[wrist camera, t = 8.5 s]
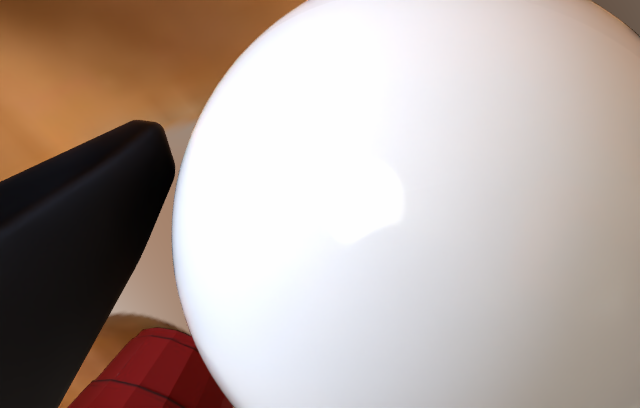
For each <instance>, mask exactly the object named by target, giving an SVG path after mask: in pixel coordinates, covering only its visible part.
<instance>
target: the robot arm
mask: <svg viewBox="0 0 640 408" xmlns="http://www.w3.org/2000/svg"><path fill="white" fill-rule="evenodd" d="M174 176H175V163H174V160H173V156H172V153H171V150H170V147H169V144H168V141H167V137H166V134H165V131H164V129H163V127H162V126H161V125H160V124H158V123H156V122H151V121H143V120H133V121H130V122H128V123H126V124H124V125H122V126H119V127H117V128H115V129H113V130H111V131H109V132H107V133H104V134H102V135H100V136H98V137H96V138H94V139H91V140H89V141H87V142H85V143H83V144H81V145H79V146H76V147H74V148H72V149H70V150H68V151H66V152H64V153H61V154H59V155H57V156H55V157H53V158H51V159H48V160H46V161H44V162H42V163H40V164H38V165H36V166H33V167H31V168H29V169H27V170H25V171H23V172H21V173H18V174H16V175H14V176H12V177H10V178H8V179H5V180H3V181H1V182H0V408H58V407H59V405H60V403H61V401H62V399H63V398H64V396H65V394H66V392H67V390H68V389H69V387H70V385H71V383H72V381H73V380H74V378H75V376H76V374H77V372H78V370H79V369H80V367H81V365H82V363H83V361H84V360H85V358H86V356H87V354H88V352H89V351H90V349H91V347H92V345H93V343H94V342H95V340H96V338H97V336H98V334H99V333H100V331H101V329H102V327H103V325H104V324H105V322H106V320H107V318H108V316H109V315H110V313H111V311H112V309H113V307H114V305H115V304H116V302H117V300H118V298H119V296H120V295H121V293H122V291H123V289H124V287H125V286H126V284H127V282H128V280H129V278H130V276H131V275H132V273H133V271H134V269H135V267H136V265H137V263H138V261H139V260H140V258H141V255H142V253H143V251H144V249H145V247H146V244H147V242H148V240H149V237H150V235H151V232H152V230H153V228H154V225H155V223H156V221H157V218H158V216H159V213H160V211H161V208H162V206H163V204H164V201H165V199H166V197H167V194H168V192H169V189H170V187H171V184H172V182H173V179H174Z"/></svg>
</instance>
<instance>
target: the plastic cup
mask: <svg viewBox="0 0 640 408" xmlns="http://www.w3.org/2000/svg"><path fill="white" fill-rule="evenodd" d="M68 408H233V406H232V404H231V403H230V402H229V401H228V399H227V398H226V397H225V395H224V394H223V392H222V391H221V390H220V388H219V387H218V385H217V384H216V382H215V381H214V379H213V377H212V376H211V374H210V372H209V371H208V369H207V367H206V365H205V364H204V362H203V360H202V358H201V356H200V354H199V352H198V350H197V348H196V345H195V343H194V341H193V338H192V336H189V335H187V334H184V333H182V332H179V331H176V330H170V329H165V328H159V327H156V328H150V329H143V330H142V331H141V332H140V333H139V334H138V335H137V336H136V337H135V338H132V339H131V340H130V341H129V342H128V343H127V344H126V345H125V347H124V348H123V349H122V350H121V351H120V352H119V353H118V355H117V356H116V357H115V358H114V359H113V360H112V361H111V363H110V364H109V365H108V366H107V367H106V368H105V369H104V371H103V372H102V373H101V374H100V375H99V376H98V377H97V379H96V380H94V381H92V382H91V383H90V384H89V385H88V386H87V387H86V388H85V389H84V390H83V391H82V392H81V393H80V394H79V396H78V397H77V398H76V399H75V400H74V401H73V402H72V403H71V404H70V405H69V406H68Z"/></svg>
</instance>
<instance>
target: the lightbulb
mask: <svg viewBox="0 0 640 408" xmlns="http://www.w3.org/2000/svg"><path fill="white" fill-rule="evenodd" d="M172 255H173V265H174V273H175V279H176V285H177V290H178V294H179V299H180V302H181V306H182V310H183V313H184V316H185V319H186V322H187V325H188V328H189V331H190V333H191V336H192V338H193V341H194V343H195V345H196V348H197V350H198V352H199V354H200V356H201V358H202V360H203V362H204V364H205V365H206V367H207V369H208V371H209V372H210V374H211V376H212V377H213V379H214V381H215V382H216V384H217V385H218V387H219V388H220V390H221V391H222V392H223V394H224V395H225V397H226V398H227V399H228V401H229V402H230V403H231V404H232V406H233V407H234V408H640V36H639V35H638V34H637V33H636V32H634V31H633V30H632V29H631V28H630V27H629V26H627V25H626V24H625V23H624V22H622V21H621V20H620V19H618V18H617V17H615V16H614V15H613V14H611V13H610V12H608V11H607V10H605V9H604V8H602V7H600V6H599V5H598V4H596V3H594V2H593V1H591V0H307V1H305V2H304V3H302V4H300V5H299V6H297V7H296V8H294V9H293V10H291V11H290V12H288V13H287V14H286V15H284V16H283V17H281V18H280V19H279V20H278V21H276V22H275V23H274V24H272V25H271V26H270V27H269V28H268V29H266V30H265V31H264V32H263V33H262V34H261V35H260V36H259V37H258V38H257V39H256V40H255V41H253V42H252V43H251V44H250V45H249V46H248V47H247V48H246V49H245V51H244V52H243V53H242V54H241V55H240V56H239V57H238V58H237V60H236V61H235V62H234V63H233V64H232V66H231V67H230V68H229V69H228V71H227V72H226V73H225V75H224V76H223V77H222V79H221V80H220V82H219V83H218V85H217V86H216V88H215V89H214V91H213V93H212V94H211V96H210V97H209V99H208V101H207V103H206V104H205V106H204V108H203V110H202V112H201V114H200V116H199V118H198V120H197V122H196V124H195V127H194V129H193V132H192V134H191V136H190V139H189V141H188V144H187V147H186V150H185V153H184V156H183V159H182V163H181V167H180V170H179V174H178V179H177V184H176V190H175V196H174V203H173V214H172Z"/></svg>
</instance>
